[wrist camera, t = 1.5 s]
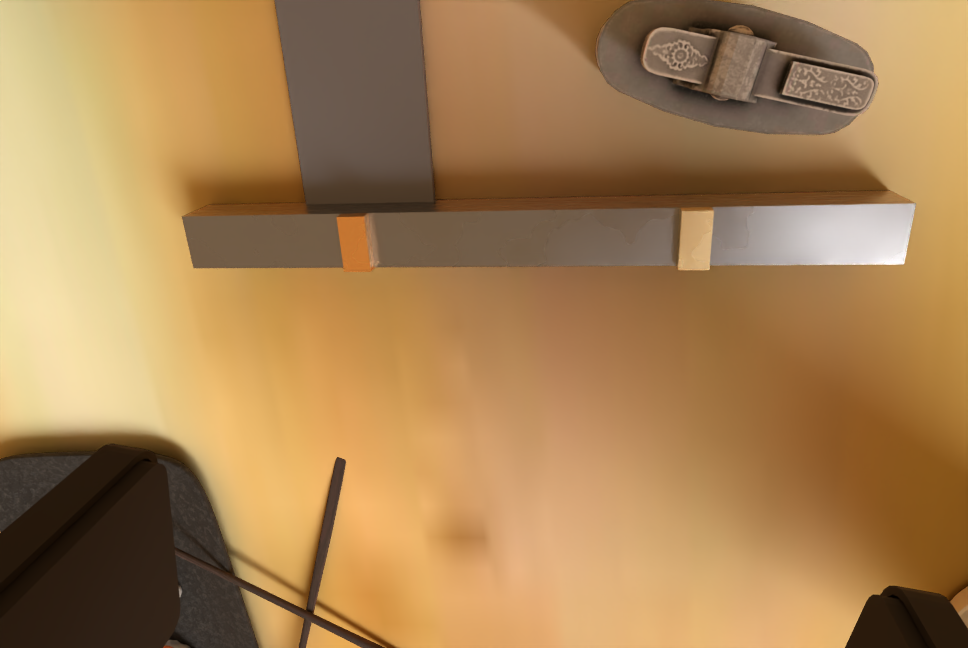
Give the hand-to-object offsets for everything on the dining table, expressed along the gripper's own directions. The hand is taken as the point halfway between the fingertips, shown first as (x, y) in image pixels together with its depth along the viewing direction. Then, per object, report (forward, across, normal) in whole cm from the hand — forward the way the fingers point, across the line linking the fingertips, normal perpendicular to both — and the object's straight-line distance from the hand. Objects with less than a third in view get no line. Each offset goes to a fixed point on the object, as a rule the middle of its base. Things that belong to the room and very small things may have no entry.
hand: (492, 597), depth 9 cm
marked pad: (+23, +9, -4) cm, 25 cm away
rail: (+23, +1, +1) cm, 23 cm away
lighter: (+23, -5, -7) cm, 24 cm away
